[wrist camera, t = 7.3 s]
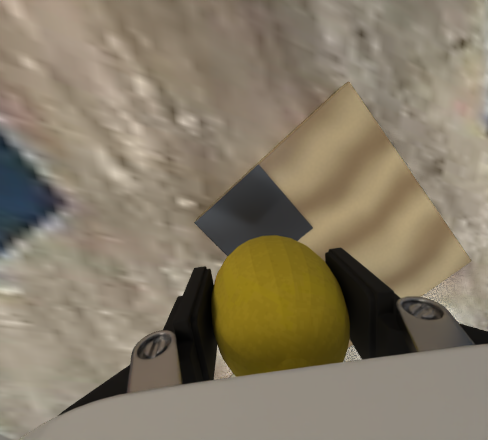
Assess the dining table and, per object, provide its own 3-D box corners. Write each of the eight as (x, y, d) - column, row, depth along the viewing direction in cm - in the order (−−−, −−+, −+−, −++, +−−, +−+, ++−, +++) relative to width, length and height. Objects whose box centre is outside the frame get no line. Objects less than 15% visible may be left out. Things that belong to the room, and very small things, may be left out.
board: (197, 218, 23) (194, 222, 21) (341, 86, 20) (350, 80, 19) (326, 349, 27) (332, 361, 26) (458, 255, 25) (474, 261, 23)
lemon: (317, 224, 13) (427, 310, 6) (299, 306, 15) (366, 466, 7) (224, 212, 13) (205, 285, 5) (214, 296, 14) (186, 454, 7)
